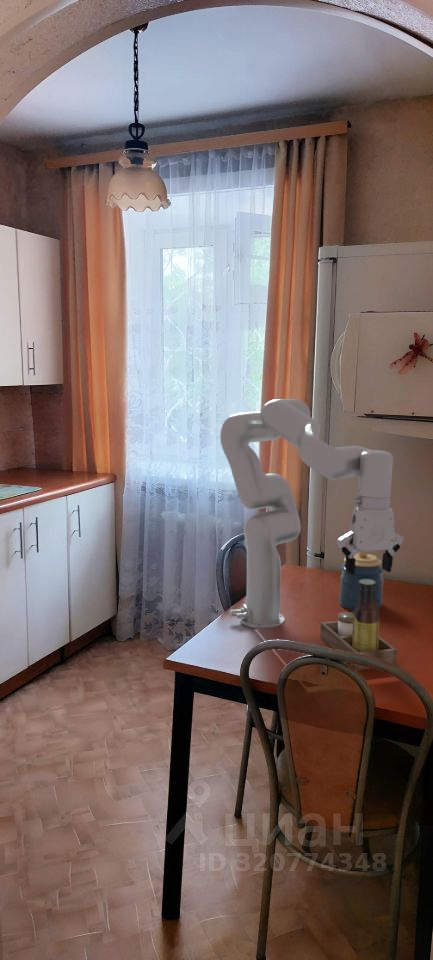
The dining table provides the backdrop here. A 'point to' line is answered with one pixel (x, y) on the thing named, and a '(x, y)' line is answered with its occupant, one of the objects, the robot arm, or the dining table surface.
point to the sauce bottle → (366, 618)
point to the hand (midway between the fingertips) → (368, 571)
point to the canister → (364, 569)
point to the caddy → (345, 643)
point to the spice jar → (345, 624)
